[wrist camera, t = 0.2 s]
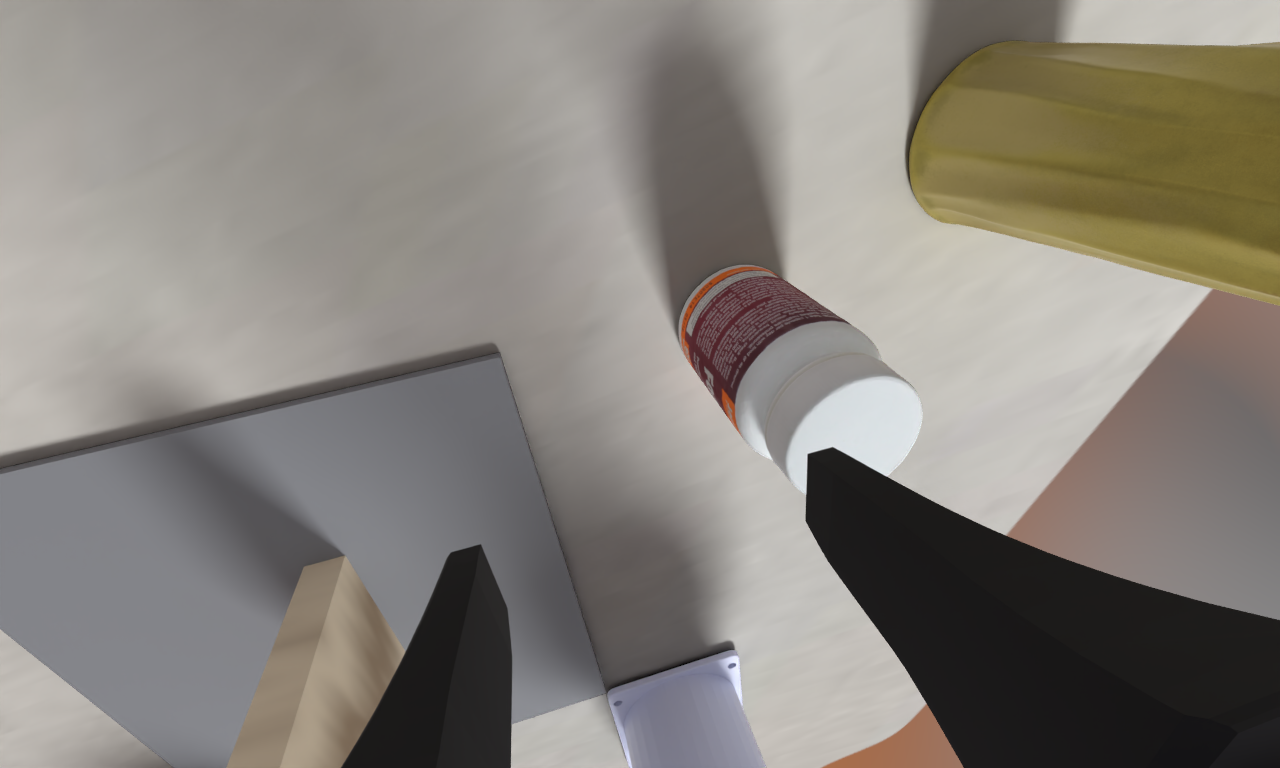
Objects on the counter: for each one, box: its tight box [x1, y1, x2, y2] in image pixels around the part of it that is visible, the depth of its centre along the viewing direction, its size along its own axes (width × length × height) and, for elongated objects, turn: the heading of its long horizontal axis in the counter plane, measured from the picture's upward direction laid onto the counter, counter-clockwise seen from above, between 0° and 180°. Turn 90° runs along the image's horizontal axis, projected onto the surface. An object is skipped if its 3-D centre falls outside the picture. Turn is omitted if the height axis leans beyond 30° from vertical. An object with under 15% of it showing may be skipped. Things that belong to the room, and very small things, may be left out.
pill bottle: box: [679, 265, 923, 494], centre depth 18 cm, size 5×5×8 cm
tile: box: [226, 556, 405, 768], centre depth 20 cm, size 8×2×9 cm, turn 8°
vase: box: [909, 41, 1280, 306], centre depth 14 cm, size 6×6×14 cm
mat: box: [0, 352, 606, 768], centre depth 24 cm, size 22×20×1 cm
